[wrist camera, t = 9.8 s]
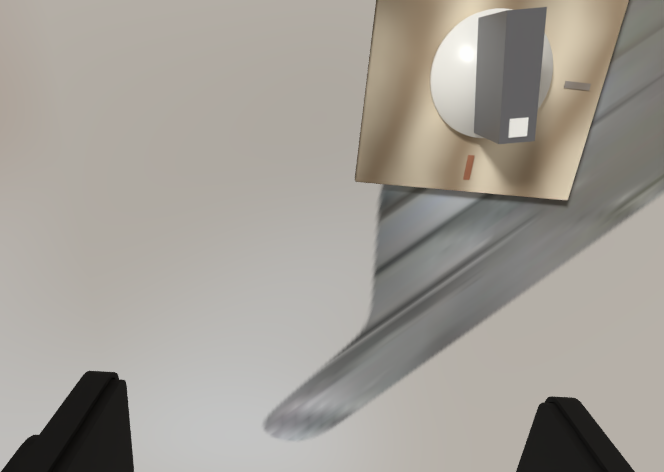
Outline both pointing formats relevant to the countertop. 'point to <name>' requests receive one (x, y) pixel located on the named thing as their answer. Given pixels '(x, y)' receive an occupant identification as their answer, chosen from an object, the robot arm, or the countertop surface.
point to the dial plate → (465, 151)
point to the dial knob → (493, 74)
